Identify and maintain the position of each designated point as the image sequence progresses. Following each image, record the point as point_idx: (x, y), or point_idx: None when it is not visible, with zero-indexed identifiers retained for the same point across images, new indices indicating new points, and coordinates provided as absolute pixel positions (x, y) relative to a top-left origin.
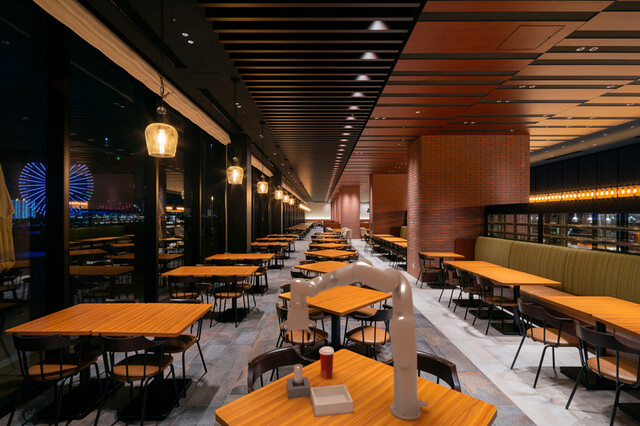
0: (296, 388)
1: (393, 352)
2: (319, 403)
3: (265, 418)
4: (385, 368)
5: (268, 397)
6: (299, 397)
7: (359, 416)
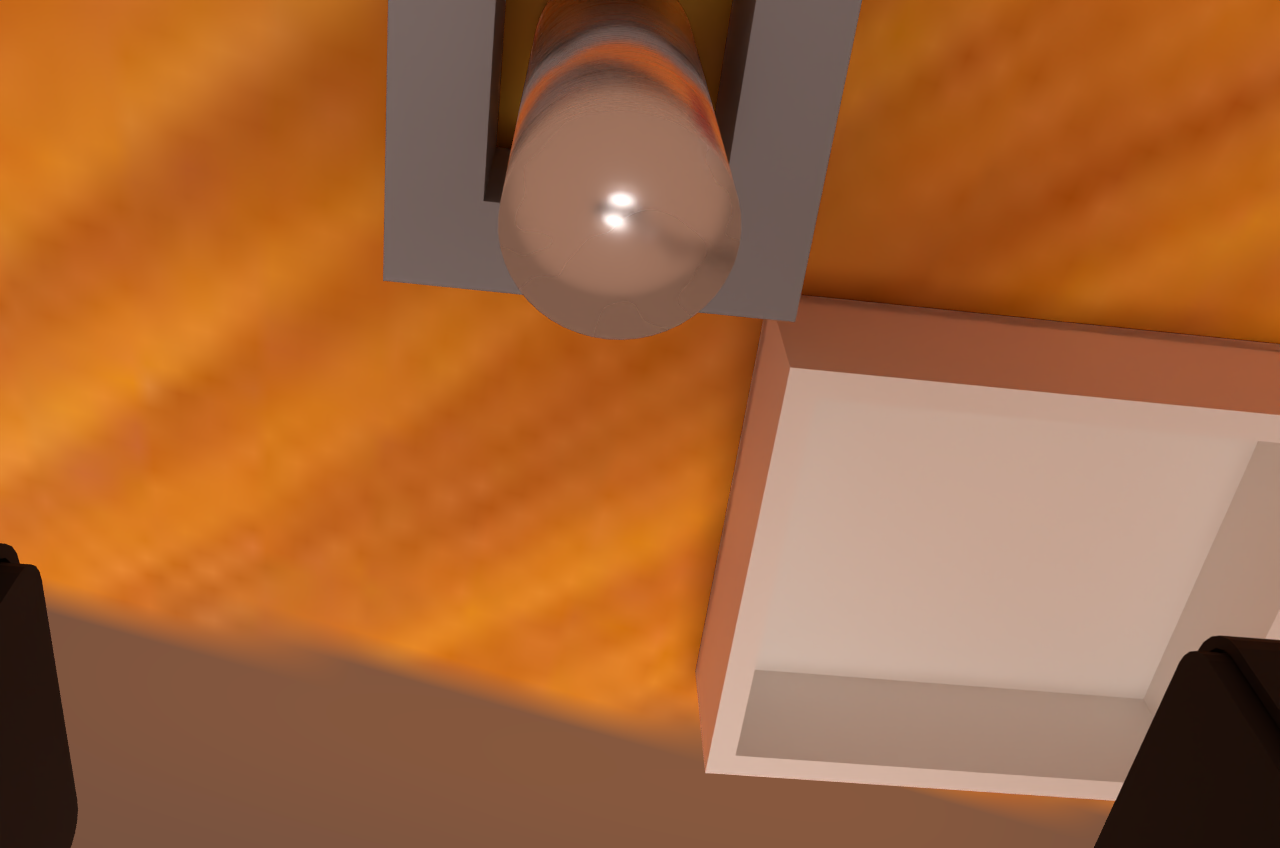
0: None
1: None
2: (834, 495)
3: (67, 565)
4: None
5: (53, 83)
6: None
7: None
